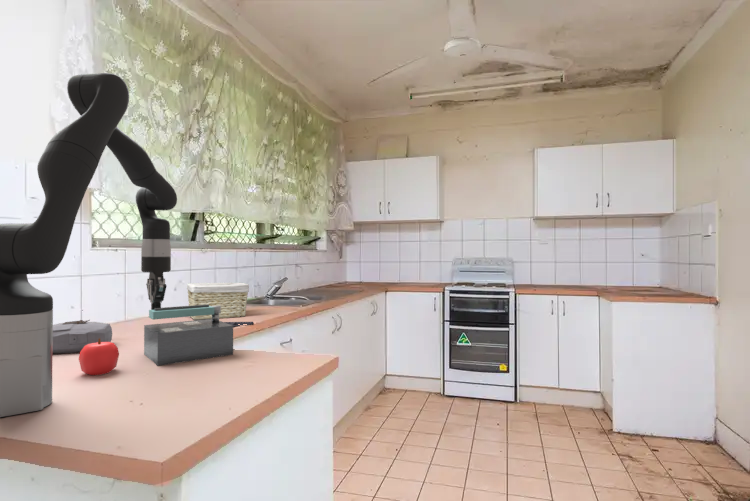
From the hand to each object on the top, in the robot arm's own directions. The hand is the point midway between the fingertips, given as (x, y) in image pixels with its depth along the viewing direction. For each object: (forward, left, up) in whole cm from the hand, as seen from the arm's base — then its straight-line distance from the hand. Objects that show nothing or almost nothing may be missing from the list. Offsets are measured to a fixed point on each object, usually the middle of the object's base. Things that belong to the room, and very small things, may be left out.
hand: (155, 315), depth 123 cm
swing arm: (-8, -6, +1) cm, 10 cm away
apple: (-16, +15, -10) cm, 25 cm away
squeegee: (+26, -31, -11) cm, 41 cm away
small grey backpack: (+18, +19, -10) cm, 28 cm away
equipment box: (-10, -6, -10) cm, 16 cm away
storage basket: (+56, -37, -10) cm, 68 cm away
